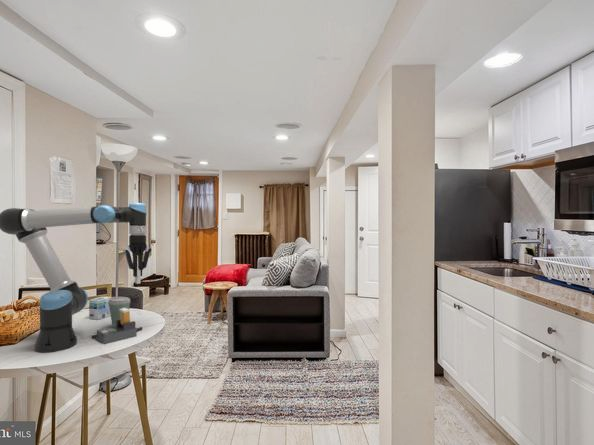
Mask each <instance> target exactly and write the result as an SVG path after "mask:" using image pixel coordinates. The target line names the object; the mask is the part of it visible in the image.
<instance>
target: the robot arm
mask: <svg viewBox="0 0 594 445" xmlns="http://www.w3.org/2000/svg"><path fill="white" fill-rule="evenodd" d="M106 223H108V224H111V223H114V224H115V223H120V224H121V223H125V224H126V223H129V225H128V228H129V229H128V233H129V236H128V237H129V240H128V241H129V242H128V243H129V245H128V247H127V248H126V249H123V252H124V254H125V257H126V261H127V264H128V269H129V270H132V276H133V278H134V283H135V285H138V284H139V285H140V284H141V283H142V282H141V279H142V278H141V277H142V276H143V270H144V269H146V268H147V266H148V262H149V256H150V254H151V252H152V248H150V247H148V245H147V208H146V203H143V202H129V205H128V206H123V207H122V206H112V205H111V206H110V205H105V204H102V205H97V206H85V207H84V206H81V207H69V208H68V207H67V208H54V209H53V208H52V209H40V210H36V209H33V208H18V207H17V208H15V207H10V208H7V209H4V210H2V211H1V212H0V230H1V232H4V233H6V234H8V235H15V237H16V239H17V240H18V242H19V243H23V244H25V247H26V248H27V249H28V252H29V253H30V255H31V257H32V258H33V260H34V262H35V264H36V266H37V267H38V269H39V270H40V272H41V274H42V277H43V279H44V280H45V282H46V284H48V286H49V289H50V291H49V292H46V293H43V294H42V295H41V296H40V298H39V333H38V336H37V338H36V341H35V344H34V351H36V352H38V353H52V352H53V353H54V352H55V353H56V352H59V351H65V350H68V349H70V348H72V347H74V346H76V345H77V344H78V338H77V334H76V332H75V330H74V328H73V315H75V314H77V313H79V312H81V311H82V310H83V309H84V308H85V307H86V306H87V303H88V302H89V296H88V293H87V291H86V290H85V289H84V288H82V287H81V286H79V285H78V283H77V282H76V280H71V278H70V276H69V274H68V273H67V271H66V269H65V267H64V266H63V263H62V262H61V260H60V258H59V257H58V254H57V253H56V251H55V250H54V247H53V246H52V244H51V242H50V241H49V239H48V237H47V234H48V229H47V228H52V227H53V228H54V227H65V226H66V227H67V226H68V227H69V226H78V225H90V224H106ZM131 254H132V255H131Z"/></svg>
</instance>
